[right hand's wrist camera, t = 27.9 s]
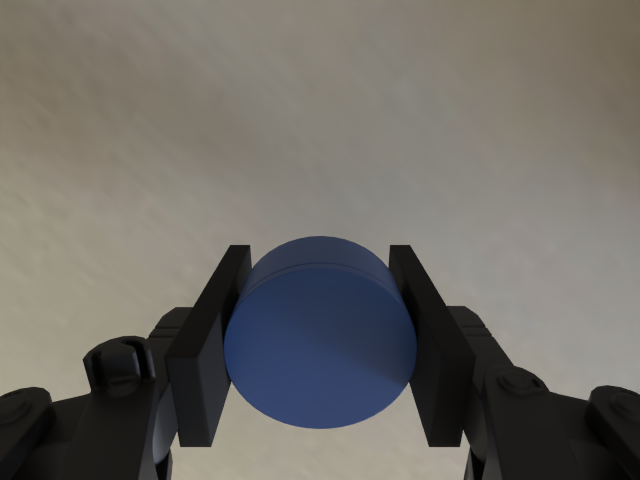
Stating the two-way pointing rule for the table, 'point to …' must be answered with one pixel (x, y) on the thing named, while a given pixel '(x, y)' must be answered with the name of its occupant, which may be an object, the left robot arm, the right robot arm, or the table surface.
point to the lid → (320, 335)
